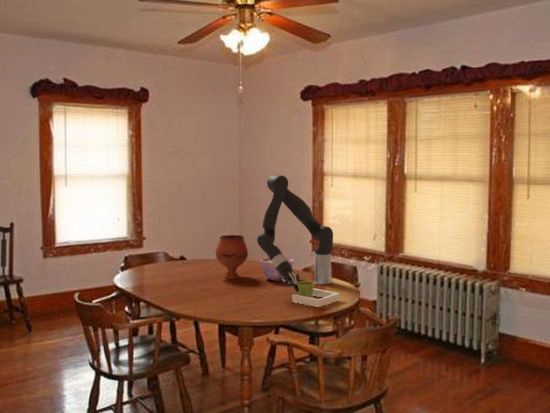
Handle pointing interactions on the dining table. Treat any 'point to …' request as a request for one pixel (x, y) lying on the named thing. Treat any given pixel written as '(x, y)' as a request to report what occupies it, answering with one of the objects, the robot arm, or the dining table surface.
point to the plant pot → (306, 288)
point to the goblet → (231, 253)
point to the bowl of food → (272, 269)
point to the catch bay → (326, 299)
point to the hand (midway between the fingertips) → (299, 291)
